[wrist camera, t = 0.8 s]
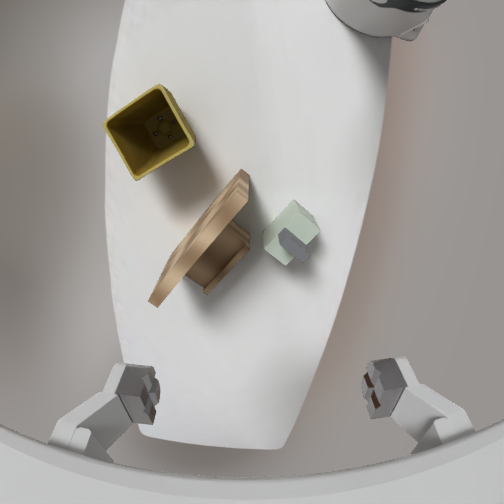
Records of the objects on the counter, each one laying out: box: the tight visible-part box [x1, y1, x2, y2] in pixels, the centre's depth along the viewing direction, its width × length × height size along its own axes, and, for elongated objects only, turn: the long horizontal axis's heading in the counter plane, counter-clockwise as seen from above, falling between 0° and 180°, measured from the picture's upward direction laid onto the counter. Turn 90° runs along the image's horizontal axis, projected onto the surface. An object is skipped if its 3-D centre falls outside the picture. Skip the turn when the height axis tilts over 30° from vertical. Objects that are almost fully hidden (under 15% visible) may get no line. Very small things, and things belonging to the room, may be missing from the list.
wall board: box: [148, 169, 250, 308], centre depth 41 cm, size 18×8×13 cm, turn 140°
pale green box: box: [263, 199, 321, 266], centre depth 42 cm, size 7×4×9 cm, turn 140°
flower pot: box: [103, 84, 196, 181], centre depth 36 cm, size 9×9×9 cm
